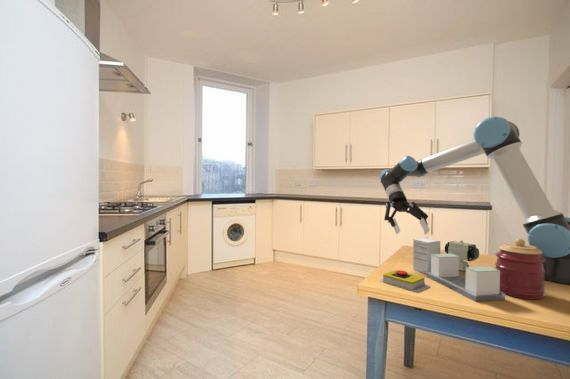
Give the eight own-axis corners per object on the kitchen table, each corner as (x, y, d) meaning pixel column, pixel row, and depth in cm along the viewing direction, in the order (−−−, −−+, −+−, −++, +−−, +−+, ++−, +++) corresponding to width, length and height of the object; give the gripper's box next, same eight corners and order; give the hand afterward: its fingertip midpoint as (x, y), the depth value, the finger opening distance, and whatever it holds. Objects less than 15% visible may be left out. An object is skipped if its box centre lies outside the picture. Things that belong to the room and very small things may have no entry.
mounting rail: (426, 276, 115) (426, 271, 115) (450, 275, 116) (450, 270, 116) (475, 301, 91) (475, 295, 91) (504, 299, 92) (505, 293, 92)
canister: (496, 283, 108) (497, 233, 107) (544, 291, 100) (545, 238, 99) (492, 293, 98) (493, 239, 97) (545, 303, 90) (547, 244, 89)
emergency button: (392, 265, 115) (431, 275, 104) (392, 277, 116) (431, 287, 104) (378, 270, 110) (418, 280, 98) (378, 282, 110) (418, 294, 98)
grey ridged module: (425, 267, 127) (425, 237, 127) (440, 272, 121) (441, 240, 120) (412, 269, 124) (412, 238, 124) (427, 274, 117) (428, 242, 117)
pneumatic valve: (450, 265, 130) (450, 237, 130) (479, 272, 120) (479, 242, 120) (442, 267, 128) (443, 238, 127) (471, 274, 118) (472, 243, 117)
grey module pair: (430, 273, 114) (431, 254, 114) (450, 272, 115) (450, 253, 115) (476, 295, 92) (476, 271, 92) (499, 294, 93) (500, 270, 93)
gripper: (416, 200, 150) (435, 236, 136) (369, 200, 147) (382, 237, 132) (423, 190, 145) (443, 226, 130) (374, 190, 141) (389, 227, 127)
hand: (413, 232), depth 131 cm, fingers open, 13 cm apart
